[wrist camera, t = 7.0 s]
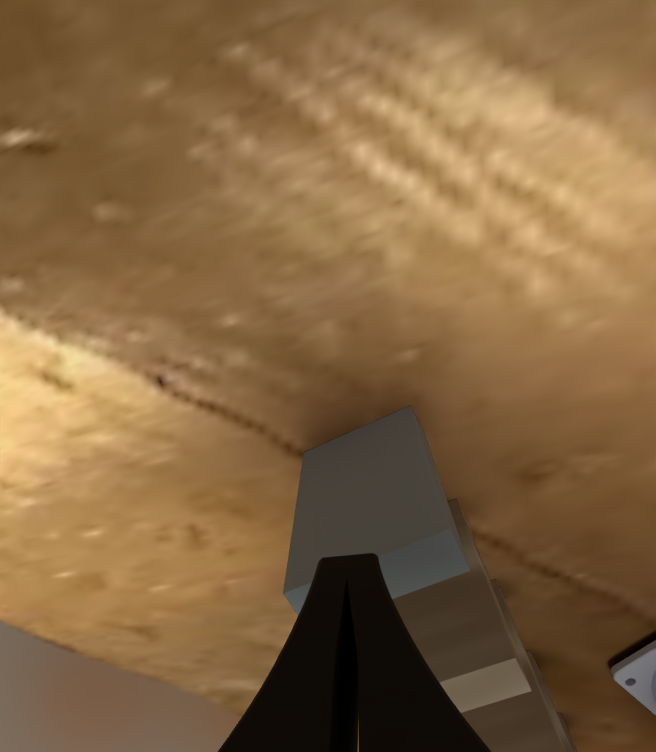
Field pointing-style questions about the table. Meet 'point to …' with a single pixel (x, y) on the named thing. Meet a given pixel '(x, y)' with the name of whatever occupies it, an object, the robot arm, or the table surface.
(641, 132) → the table surface
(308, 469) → the domino
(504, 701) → the domino
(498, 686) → the domino
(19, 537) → the table surface
